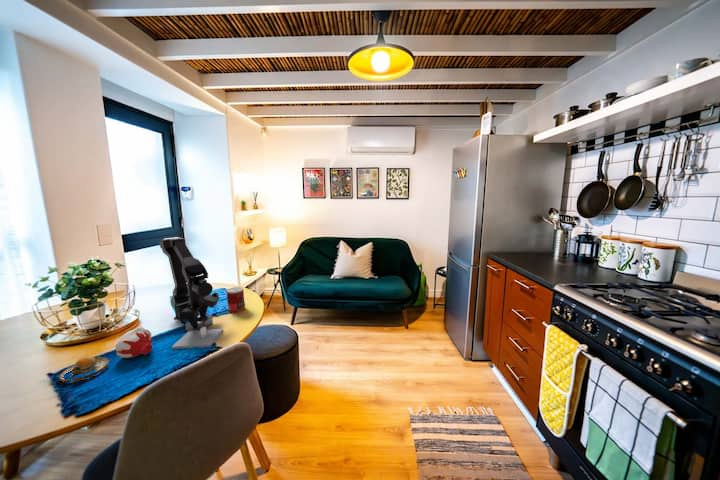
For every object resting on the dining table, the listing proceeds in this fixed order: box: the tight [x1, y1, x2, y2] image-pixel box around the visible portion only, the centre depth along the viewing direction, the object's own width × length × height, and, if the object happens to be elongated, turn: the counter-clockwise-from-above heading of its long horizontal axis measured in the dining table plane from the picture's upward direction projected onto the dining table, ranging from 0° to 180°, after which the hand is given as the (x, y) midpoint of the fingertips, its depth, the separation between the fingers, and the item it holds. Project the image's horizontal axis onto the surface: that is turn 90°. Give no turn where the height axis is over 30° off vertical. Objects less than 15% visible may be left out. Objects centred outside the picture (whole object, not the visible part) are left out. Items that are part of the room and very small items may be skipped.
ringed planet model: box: [57, 355, 110, 383], centre depth 86 cm, size 12×12×8 cm
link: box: [185, 314, 214, 332], centre depth 116 cm, size 8×7×4 cm
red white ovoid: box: [115, 325, 153, 360], centre depth 96 cm, size 9×11×15 cm
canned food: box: [226, 286, 246, 314], centre depth 133 cm, size 8×8×11 cm
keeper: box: [171, 327, 224, 350], centre depth 106 cm, size 14×12×5 cm
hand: (199, 323), depth 116 cm, fingers closed on link, 7 cm apart
